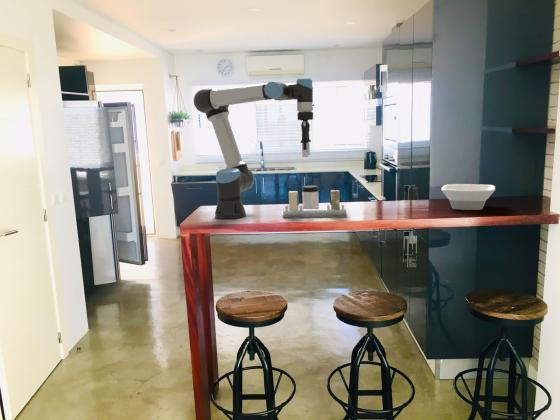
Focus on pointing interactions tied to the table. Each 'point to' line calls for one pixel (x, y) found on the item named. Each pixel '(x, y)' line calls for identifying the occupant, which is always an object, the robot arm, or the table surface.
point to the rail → (309, 213)
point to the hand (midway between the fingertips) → (306, 156)
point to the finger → (335, 200)
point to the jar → (310, 197)
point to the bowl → (468, 195)
